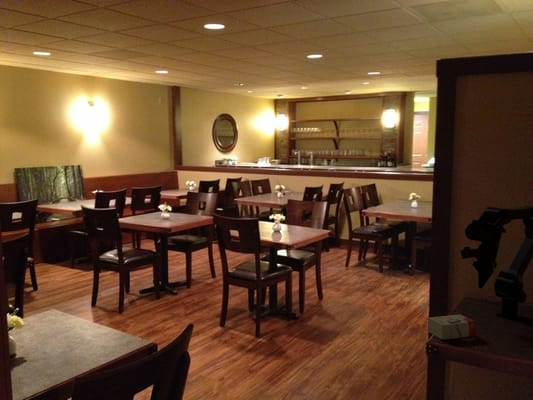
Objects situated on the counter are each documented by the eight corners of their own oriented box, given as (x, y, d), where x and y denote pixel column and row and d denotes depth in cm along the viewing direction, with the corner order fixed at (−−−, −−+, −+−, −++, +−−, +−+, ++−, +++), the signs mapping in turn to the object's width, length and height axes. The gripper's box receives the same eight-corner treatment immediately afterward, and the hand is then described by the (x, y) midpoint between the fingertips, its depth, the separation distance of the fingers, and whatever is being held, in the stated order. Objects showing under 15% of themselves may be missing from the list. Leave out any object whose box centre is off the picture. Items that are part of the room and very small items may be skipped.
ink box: (476, 321, 146) (443, 324, 143) (476, 337, 146) (443, 340, 143) (459, 313, 154) (427, 316, 152) (459, 328, 154) (427, 331, 152)
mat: (460, 333, 150) (460, 332, 150) (476, 339, 145) (476, 338, 145) (452, 336, 147) (452, 335, 147) (468, 342, 143) (468, 341, 143)
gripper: (468, 238, 170) (459, 279, 170) (461, 237, 154) (451, 283, 154) (501, 245, 164) (492, 288, 165) (498, 246, 148) (487, 293, 148)
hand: (480, 288), depth 158 cm, fingers closed
